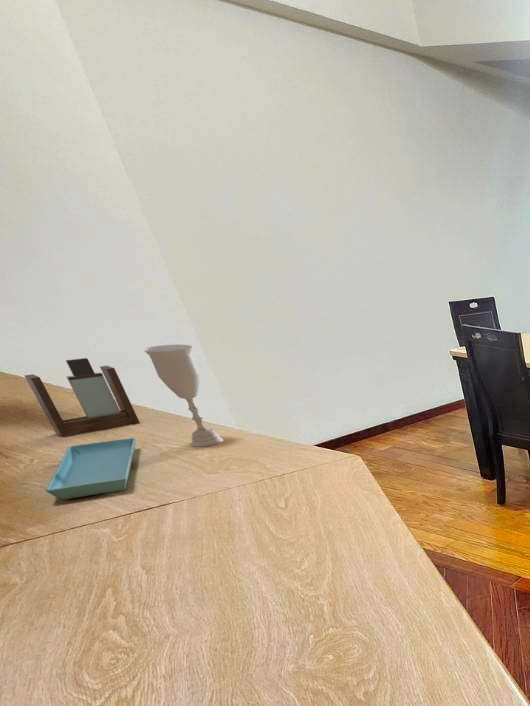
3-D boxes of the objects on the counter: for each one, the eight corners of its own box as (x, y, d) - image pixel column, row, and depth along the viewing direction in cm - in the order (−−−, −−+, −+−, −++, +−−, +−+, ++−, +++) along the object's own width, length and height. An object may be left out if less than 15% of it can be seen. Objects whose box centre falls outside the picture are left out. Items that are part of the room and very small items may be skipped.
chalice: (183, 440, 117) (141, 346, 108) (225, 434, 121) (189, 343, 113) (187, 450, 113) (144, 353, 104) (231, 443, 117) (194, 349, 108)
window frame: (62, 437, 116) (30, 378, 111) (55, 433, 118) (24, 375, 112) (140, 423, 125) (114, 367, 120) (133, 420, 127) (107, 365, 121)
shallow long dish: (73, 456, 108) (66, 443, 106) (140, 447, 113) (134, 435, 112) (52, 505, 90) (43, 490, 89) (133, 492, 95) (126, 478, 94)
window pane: (90, 422, 120) (60, 361, 114) (88, 421, 120) (58, 360, 115) (122, 416, 124) (94, 357, 118) (120, 415, 124) (92, 357, 118)
